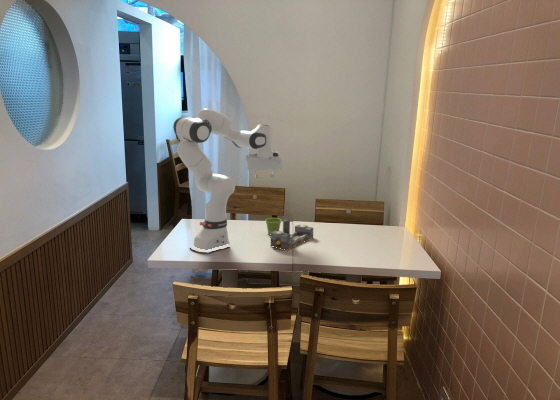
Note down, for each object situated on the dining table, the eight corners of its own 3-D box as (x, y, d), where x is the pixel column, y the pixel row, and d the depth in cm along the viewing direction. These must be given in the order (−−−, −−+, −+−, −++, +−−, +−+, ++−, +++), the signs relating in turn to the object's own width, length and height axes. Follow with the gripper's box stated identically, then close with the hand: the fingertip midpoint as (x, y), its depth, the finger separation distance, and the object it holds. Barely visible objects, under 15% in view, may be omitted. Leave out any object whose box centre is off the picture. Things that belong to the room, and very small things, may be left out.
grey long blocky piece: (285, 250, 240) (286, 235, 238) (270, 246, 246) (270, 231, 244) (313, 237, 261) (313, 223, 259) (298, 234, 267) (298, 220, 265)
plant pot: (281, 236, 263) (281, 222, 261) (264, 236, 263) (264, 222, 261) (281, 232, 272) (281, 217, 270) (265, 231, 272) (265, 217, 270)
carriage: (286, 244, 245) (287, 222, 242) (279, 242, 247) (279, 221, 245) (293, 241, 249) (293, 220, 246) (285, 239, 252) (285, 218, 249)
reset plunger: (279, 245, 241) (279, 241, 241) (275, 244, 242) (275, 240, 242) (284, 242, 245) (284, 239, 245) (281, 242, 246) (281, 238, 246)
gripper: (246, 154, 253) (247, 179, 257) (282, 153, 258) (282, 177, 262) (245, 153, 259) (245, 177, 263) (280, 152, 264) (279, 175, 267)
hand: (264, 177), depth 262 cm, fingers open, 8 cm apart
